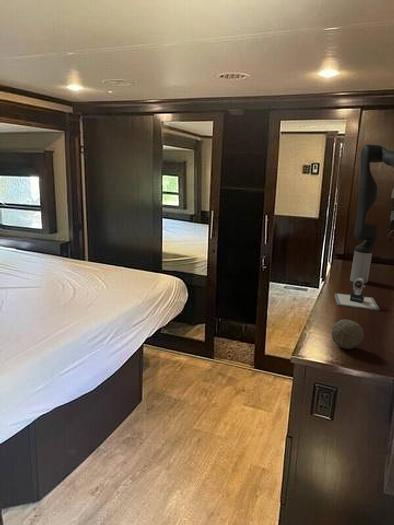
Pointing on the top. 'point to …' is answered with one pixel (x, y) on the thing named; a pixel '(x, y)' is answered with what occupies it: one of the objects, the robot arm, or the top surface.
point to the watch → (358, 291)
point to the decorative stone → (347, 334)
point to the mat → (345, 301)
